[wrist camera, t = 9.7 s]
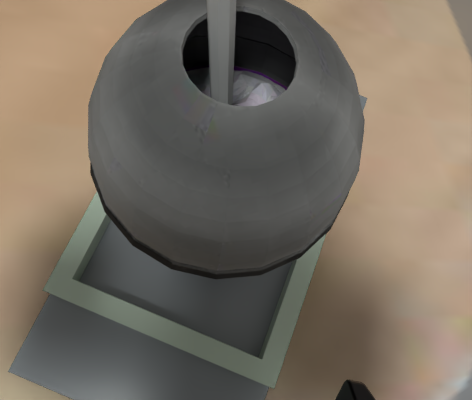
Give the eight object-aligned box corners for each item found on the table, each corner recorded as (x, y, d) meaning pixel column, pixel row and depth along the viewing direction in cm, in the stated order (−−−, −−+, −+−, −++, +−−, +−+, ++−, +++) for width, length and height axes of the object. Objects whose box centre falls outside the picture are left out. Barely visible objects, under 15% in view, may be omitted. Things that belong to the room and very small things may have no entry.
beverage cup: (187, 329, 20) (63, 447, 1) (118, 211, 22) (-418, -552, 3) (301, 254, 22) (961, -165, 3) (230, 149, 24) (380, -583, 4)
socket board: (238, 467, 19) (243, 481, 18) (13, 369, 20) (-4, 374, 18) (363, 103, 26) (375, 87, 24) (194, 34, 26) (194, 14, 25)
